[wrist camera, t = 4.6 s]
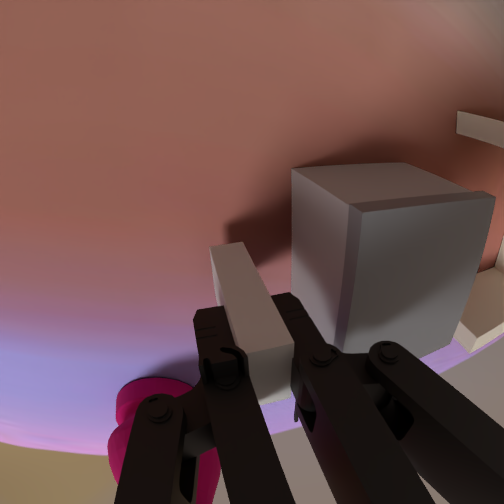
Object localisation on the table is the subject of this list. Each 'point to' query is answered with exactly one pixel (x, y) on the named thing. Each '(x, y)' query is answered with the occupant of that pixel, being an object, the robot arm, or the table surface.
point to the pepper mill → (125, 416)
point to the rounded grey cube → (385, 253)
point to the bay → (489, 281)
